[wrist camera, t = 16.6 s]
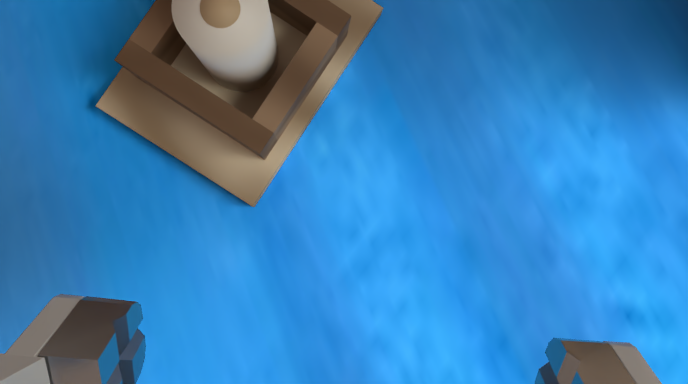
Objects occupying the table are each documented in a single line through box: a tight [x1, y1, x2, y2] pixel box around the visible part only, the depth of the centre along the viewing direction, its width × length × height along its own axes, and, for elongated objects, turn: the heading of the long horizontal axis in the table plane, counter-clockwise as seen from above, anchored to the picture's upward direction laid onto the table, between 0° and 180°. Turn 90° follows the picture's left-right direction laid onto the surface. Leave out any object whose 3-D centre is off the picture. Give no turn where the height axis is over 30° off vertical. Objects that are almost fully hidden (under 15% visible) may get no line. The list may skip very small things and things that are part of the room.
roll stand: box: [96, 0, 383, 207], centre depth 32 cm, size 16×12×5 cm
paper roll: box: [171, 0, 279, 92], centre depth 29 cm, size 5×5×8 cm
